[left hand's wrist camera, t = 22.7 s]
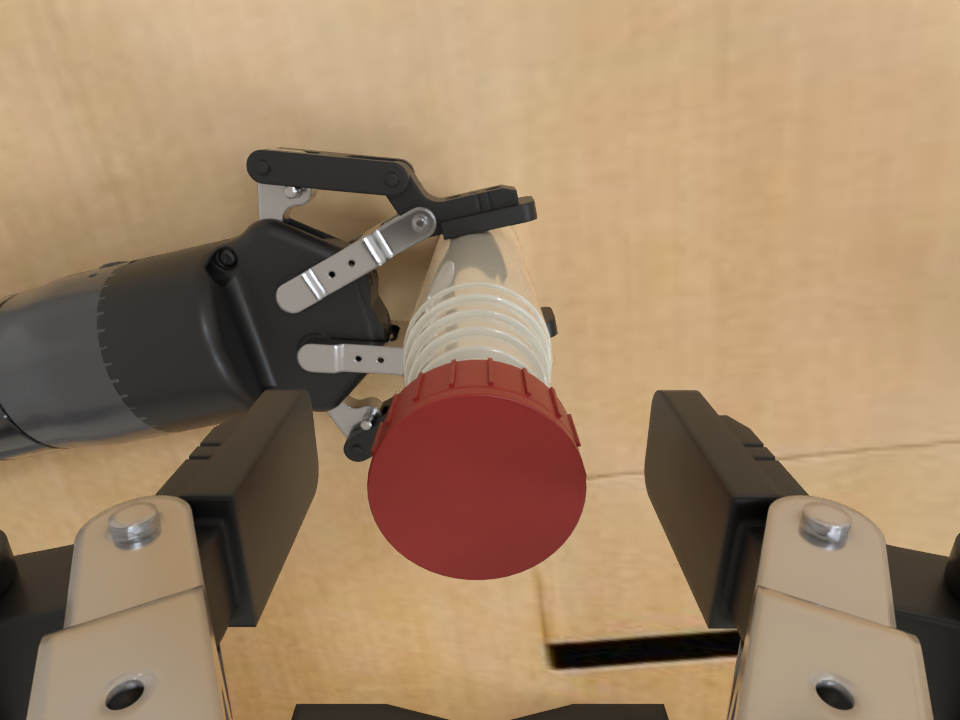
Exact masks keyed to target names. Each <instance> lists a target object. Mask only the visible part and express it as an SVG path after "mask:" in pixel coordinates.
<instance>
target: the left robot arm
mask: <svg viewBox="0 0 960 720" xmlns="http://www.w3.org/2000/svg"><path fill="white" fill-rule="evenodd" d="M318 469H319V468H318V455H317V447H316V438H315V429H314V421H313V412H312V404H311V398H310V395H309V393H308V391H307V390H265V391H264V392H263V393H262V394H261V396H260V397H259V398H258V399H257V401H256V402H255V403H254V404H253V406H252V407H251V408H250V409H249V411H248V412H247V413H246V414H245V415H235V416H234V417H232V418H230V419H228V420H227V421H225V422H223V423H222V424H220V425H218V426H216V427H215V428H213V430H212V431H211V432H210V433H209V434H208V435H207V436H206V438H205V439H204V440H203V441H202V442H201V443H200V446H198V447H197V448H196V449H195V450H194V451H193V452H192V454H191V455H190V456H189V460H185V462H184V463H183V464H182V465H181V466H180V467H179V468H178V470H177V471H176V472H175V473H174V474H173V475H172V476H171V478H170V479H169V480H168V481H167V482H166V483H165V484H164V485H163V487H162V488H161V489H160V490H159V491H158V492H157V493H156V495H155V496H147V497H141V498H136V499H132V500H129V501H125V502H123V503H120V504H117V505H115V506H113V507H110V508H108V509H106V510H104V511H103V512H101V513H99V514H97V515H96V516H95V517H93V518H92V519H90V520H89V521H88V522H87V523H86V524H85V525H84V526H83V527H82V528H81V529H80V530H79V532H78V534H77V535H76V538H75V542H74V544H73V545H68V546H63V547H58V548H53V549H48V550H43V551H38V552H32V553H27V554H22V555H17V556H13V553H12V550H11V548H10V545H9V542H8V539H7V536H6V535H5V533H4V532H3V531H1V530H0V720H234V717H233V711H232V706H231V700H230V695H229V689H228V683H227V678H226V672H225V666H224V661H223V656H222V651H221V646H220V642H221V640H222V638H223V636H224V634H225V632H226V630H227V628H228V627H256V625H257V623H258V621H259V619H260V616H261V614H262V612H263V610H264V607H265V605H266V603H267V601H268V598H269V596H270V594H271V592H272V590H273V587H274V585H275V583H276V581H277V578H278V576H279V574H280V572H281V569H282V567H283V565H284V563H285V560H286V558H287V556H288V554H289V551H290V549H291V547H292V545H293V542H294V540H295V538H296V536H297V533H298V531H299V529H300V527H301V524H302V522H303V520H304V518H305V516H306V513H307V511H308V509H309V507H310V504H311V502H312V500H313V498H314V495H315V492H316V488H317V483H318ZM645 483H646V489H647V493H648V496H649V498H650V500H651V503H652V505H653V507H654V509H655V511H656V514H657V516H658V518H659V520H660V522H661V525H662V527H663V529H664V531H665V533H666V536H667V538H668V540H669V542H670V544H671V547H672V549H673V551H674V553H675V555H676V558H677V560H678V562H679V564H680V567H681V569H682V571H683V573H684V575H685V578H686V580H687V582H688V584H689V586H690V589H691V591H692V593H693V595H694V597H695V600H696V602H697V604H698V606H699V608H700V611H701V613H702V615H703V617H704V619H705V622H706V624H707V626H708V628H737V630H738V632H739V634H740V636H741V642H740V646H739V651H738V656H737V661H736V666H735V672H734V678H733V683H732V689H731V695H730V700H729V706H728V711H727V717H726V720H960V533H959V534H958V536H957V537H956V539H955V542H954V545H953V548H952V551H951V553H950V556H949V557H946V556H941V555H936V554H931V553H925V552H920V551H915V550H910V549H905V548H900V547H895V546H891V545H886V542H885V538H884V535H883V534H882V532H881V530H880V529H879V528H878V527H877V526H876V525H875V524H874V523H873V522H872V521H871V520H870V519H868V518H867V517H865V516H864V515H863V514H861V513H859V512H857V511H856V510H854V509H852V508H850V507H847V506H845V505H843V504H840V503H837V502H835V501H831V500H828V499H824V498H819V497H813V496H809V495H808V494H807V493H806V492H805V490H804V489H803V488H802V487H801V486H800V485H799V484H798V483H797V481H796V480H795V479H794V478H793V477H792V476H791V475H790V473H789V472H788V471H787V470H786V469H785V468H784V467H783V466H782V464H781V463H780V462H779V461H775V457H774V455H773V454H772V453H771V452H770V451H769V450H768V449H767V448H766V447H764V444H763V443H762V442H761V441H760V440H759V439H758V437H757V436H756V435H755V434H754V433H753V432H752V431H751V429H749V428H748V427H746V426H744V425H743V424H741V423H739V422H737V421H736V420H734V419H732V418H730V417H729V416H727V415H718V414H717V413H716V412H715V410H714V409H713V408H712V407H711V405H710V404H709V403H708V402H707V401H706V399H705V398H704V397H703V396H702V395H701V393H700V392H699V391H697V390H658V391H656V392H655V394H654V396H653V400H652V406H651V414H650V423H649V431H648V440H647V448H646V457H645ZM291 720H448V719H444V718H440V717H436V716H432V715H428V714H424V713H420V712H416V711H412V710H408V709H404V708H400V707H396V706H392V705H388V704H296V707H295V710H294V713H293V716H292V719H291ZM512 720H669V719H668V716H667V713H666V710H665V707H664V704H572V705H568V706H564V707H560V708H556V709H552V710H548V711H544V712H540V713H536V714H532V715H528V716H524V717H520V718H516V719H512Z"/></svg>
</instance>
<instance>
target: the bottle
mask: <svg viewBox="0 0 960 720" xmlns="http://www.w3.org/2000/svg"><path fill="white" fill-rule="evenodd" d="M488 358H493V361H498V362H502V363H506V364H510V365H513V366H515V367H518V368H520V369H522V368H523V367H524V368H526V369H527V371H528V373H530V374H532V375H533V376H535V377H536V378H538V379H539V380H540V381H542V382H543V383H544V384H546V385H547V386H548V387H549V388H550V382H551V374H552V365H553V360H552V345H551V339H550V334H549V331H548V328H547V325H546V322H545V319H544V316H543V313H542V310H541V307H540V304H539V301H538V298H537V295H536V293H535V290H534V287H533V284H532V281H531V278H530V275H529V272H528V269H527V266H526V263H525V260H524V257H523V254H522V251H521V248H520V245H519V242H518V239H517V236H516V234H515V232H514V230H513V228H512V227H511V226H507V227H502V228H497V229H493V230H488V231H484V232H479V233H475V234H469V235H465V236H461V237H457V238H452V239H448V240H444V238H443V234H441V235H440V236H439V239H438V242H437V245H436V248H435V251H434V254H433V256H432V259H431V262H430V265H429V268H428V271H427V274H426V276H425V279H424V282H423V285H422V288H421V291H420V294H419V296H418V299H417V302H416V305H415V308H414V311H413V313H412V316H411V319H410V322H409V325H408V328H407V331H406V335H405V338H404V346H403V358H402V368H403V375H404V384H405V387H406V386H408V385H409V384H410V383H411V382H412V381H413V380H415V379H416V378H418V374H419V373H420V372H423V374H424V373H426V372H428V371H430V370H432V369H433V368H436V367H439V366H442V365H444V364H448V363H451V360H454V359H456V361H463V360H488Z"/></svg>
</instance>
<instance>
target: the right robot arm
mask: <svg viewBox="0 0 960 720" xmlns="http://www.w3.org/2000/svg"><path fill="white" fill-rule="evenodd" d="M247 171H248V173H249V175H250V176H251V178H252V179H253V180H255V181H256V182H258V202H259V221H256V222H255V223H253V224H252V225H250V226H249V227H248V228H247V229H246V230H245V232H244V233H242V234H241V235H240V236H238V237H235V238H232V239H227V240H223V241H218V242H214V243H210V244H205V245H201V246H196V247H192V248H188V249H183V250H179V251H175V252H170V253H166V254H161V255H157V256H152V257H148V258H144V259H139V260H135V261H131V262H115V263H110V264H105V265H103V266H102V267H100V268H99V269H95V270H91V271H87V272H82V273H78V274H74V275H71V276H67V277H64V278H61V279H59V280H56V281H53V282H51V283H49V284H46V285H44V286H41V287H39V288H36V289H33V290H30V291H26V292H23V293H19V294H15V295H10V296H6V297H2V298H0V462H1V461H8V460H14V459H19V458H24V457H29V456H34V455H39V454H44V453H48V452H53V451H58V450H63V449H68V448H73V447H79V446H91V445H110V444H119V443H125V442H131V441H136V440H141V439H146V438H151V437H156V436H161V435H166V434H171V433H176V432H181V431H186V430H191V429H196V428H201V427H206V426H211V425H216V424H221V423H223V422H225V421H227V420H228V419H230V418H232V417H234V416H235V415H245V414H246V413H247V412H248V411H249V409H250V408H251V407H252V406H253V404H254V403H255V402H256V401H257V399H258V398H259V397H260V396H261V394H262V393H263V392H264V391H265V390H307V391H308V393H309V395H310V398H311V404H312V411H315V412H326V411H327V413H328V414H329V415H330V417H331V418H332V419H333V421H334V422H335V424H336V425H337V426H338V428H339V429H340V430H341V432H342V433H343V434H344V436H345V437H346V439H347V440H346V443H345V445H344V453H345V455H346V456H347V457H348V458H349V459H350V460H352V461H355V462H361V461H364V460H366V459H368V458H370V457H372V456H373V455H370V452H371V449H372V446H373V443H374V440H375V437H376V434H377V431H378V428H379V425H380V422H383V423H384V420H385V417H386V415H387V413H388V410H389V408H390V406H391V403H392V400H393V397H392V398H390V399H388V400H386V401H384V402H382V401H381V400H379V399H378V398H374V397H369V398H366V399H362V400H357V399H354V398H352V397H350V396H349V394H350V393H351V392H352V391H353V389H354V388H355V387H356V386H357V385H358V384H359V383H360V382H361V381H362V379H363V378H364V377H365V376H366V375H367V374H368V373H375V374H391V375H403V368H402V358H403V346H404V338H405V335H406V331H407V328H408V325H409V322H407V321H391V320H390V316H389V313H388V310H387V309H386V307H385V305H384V304H383V302H382V300H381V299H380V297H379V294H378V275H377V271H376V268H377V267H379V266H381V265H382V264H384V263H385V262H387V261H388V260H389V259H391V258H392V257H394V256H396V255H398V254H399V253H401V252H403V251H405V250H406V249H408V248H410V247H412V246H414V245H415V244H417V243H419V242H421V241H423V240H424V239H426V238H428V237H432V236H437V235H441V234H443V238H444V240H448V239H452V238H457V237H461V236H465V235H469V234H475V233H479V232H484V231H488V230H493V229H497V228H502V227H507V226H511V225H516V224H520V223H525V222H529V221H532V220H535V219H537V213H536V208H535V202H534V199H533V198H532V196H526V197H520V198H518V196H517V191H516V189H515V187H512V186H506V185H498V186H493V187H489V188H485V189H480V190H476V191H471V192H467V193H463V194H458V195H454V196H449V197H445V198H437V197H434V196H432V195H430V194H429V193H427V192H426V190H425V189H424V188H423V186H422V185H421V183H420V181H419V180H418V178H417V177H416V175H415V171H414V168H413V166H412V165H411V164H410V163H409V162H408V161H406V160H404V159H396V158H386V157H375V156H365V155H354V154H344V153H333V152H323V151H312V150H302V149H291V148H271V149H264V150H257V151H254V152H253V153H251V154H250V156H249V157H248V159H247ZM317 189H321V190H332V191H343V192H354V193H364V194H375V195H386V196H387V198H388V199H389V201H390V202H391V204H392V205H393V207H394V208H395V210H396V211H397V214H396V215H394V216H392V217H390V218H389V219H387V220H385V221H383V222H381V223H379V224H377V225H375V226H373V227H372V228H370V229H368V230H366V231H365V232H363V233H361V234H359V235H358V236H356V237H354V238H352V239H351V240H349V241H347V242H345V241H343V240H340V239H338V238H336V237H333V236H331V235H329V234H326V233H324V232H321V231H319V230H317V229H314V228H312V227H310V226H307V225H305V224H302V223H300V222H298V221H295V220H293V219H291V218H289V214H290V211H291V209H292V208H293V207H294V206H301V205H304V204H306V203H308V202H311V201H312V200H313V199H314V198H315V197H316V194H317ZM541 310H542V313H543V316H544V319H545V322H546V325H547V328H548V331H549V334H550V338H551V337H553V336H555V335H556V334H557V327H556V321H555V316H554V314H553V311H552V309H551V308H550V307H541ZM390 334H392V335H393V336H392V335H390ZM382 358H383V359H382ZM399 394H400V393H399ZM399 394H397V395H399Z"/></svg>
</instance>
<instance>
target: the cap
mask: <svg viewBox="0 0 960 720" xmlns="http://www.w3.org/2000/svg"><path fill="white" fill-rule="evenodd" d="M579 446H581V444H580V441H579V438H578V435H577V432H576V428H575V425H574V422H573V419H572V416H571V414H568V415H567V412H566V410H565V409H564V407H563V405H562V403H561V402H560V400H559V399H558V398H557V396H556V393H555V389H554V388H553V387H551V388H549V387H548V386H547V385H546V384H544V383H543V382H542V381H540V380H539V379H538V378H536V377H535V376H533V375H532V374H530V373H528V371H527V369H526V368H524V367H523V368H522V369H520V368H518V367H515V366H513V365H510V364H506V363H502V362H498V361H493V358H488V360H463V361H456V359H454V360H451V363H448V364H444V365H442V366H439V367H436V368H433V369H432V370H430V371H428V372H426V373H424V374H423V372H420V373H419V374H418V378H416V379H415V380H413V381H412V382H411V383H410V384H409V385H408V386H406V387H405V388H404V389H403V390H402V391H401V393H400V394H399V395H397V394H395V395H394V397H393V400H392V403H391V406H390V408H389V410H388V413H387V415H386V417H385V420H384V423H383V422H380V425H379V428H378V431H377V434H376V437H375V440H374V443H373V446H372V449H371V452H370V455H373V457H372V460H371V464H370V468H369V472H368V482H367V490H368V500H369V504H370V509H371V512H372V514H373V517H374V520H375V522H376V524H377V525H378V527H379V529H380V531H381V532H382V534H383V535H384V536H385V538H386V539H387V541H388V542H389V543H390V544H391V545H392V546H393V547H394V548H395V549H396V550H397V551H398V552H399V553H401V554H402V555H403V556H404V557H406V558H407V559H408V560H410V561H412V562H413V563H415V564H416V565H418V566H420V567H422V568H424V569H427V570H429V571H431V572H434V573H437V574H440V575H443V576H448V577H452V578H457V579H466V580H487V579H496V578H502V577H507V576H510V575H514V574H517V573H520V572H522V571H525V570H527V569H529V568H532V567H534V566H535V565H537V564H539V563H541V562H542V561H544V560H545V559H547V558H548V557H549V556H551V555H552V554H553V553H554V552H556V551H557V550H558V549H559V548H560V547H561V546H562V545H563V544H564V542H565V541H566V540H567V539H568V537H569V536H570V535H571V533H572V532H573V530H574V528H575V527H576V525H577V523H578V521H579V518H580V516H581V514H582V511H583V507H584V503H585V497H586V472H585V469H584V466H583V462H582V458H581V456H580V452H579V449H578V447H579Z"/></svg>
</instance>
